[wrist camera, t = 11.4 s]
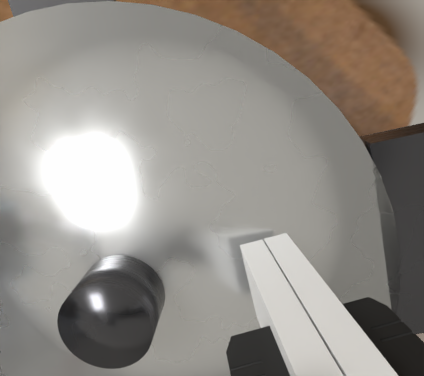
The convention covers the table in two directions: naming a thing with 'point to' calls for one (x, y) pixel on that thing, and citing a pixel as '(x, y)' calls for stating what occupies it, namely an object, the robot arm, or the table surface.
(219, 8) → the table surface
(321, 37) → the table surface
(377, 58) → the table surface
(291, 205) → the cooker lid
